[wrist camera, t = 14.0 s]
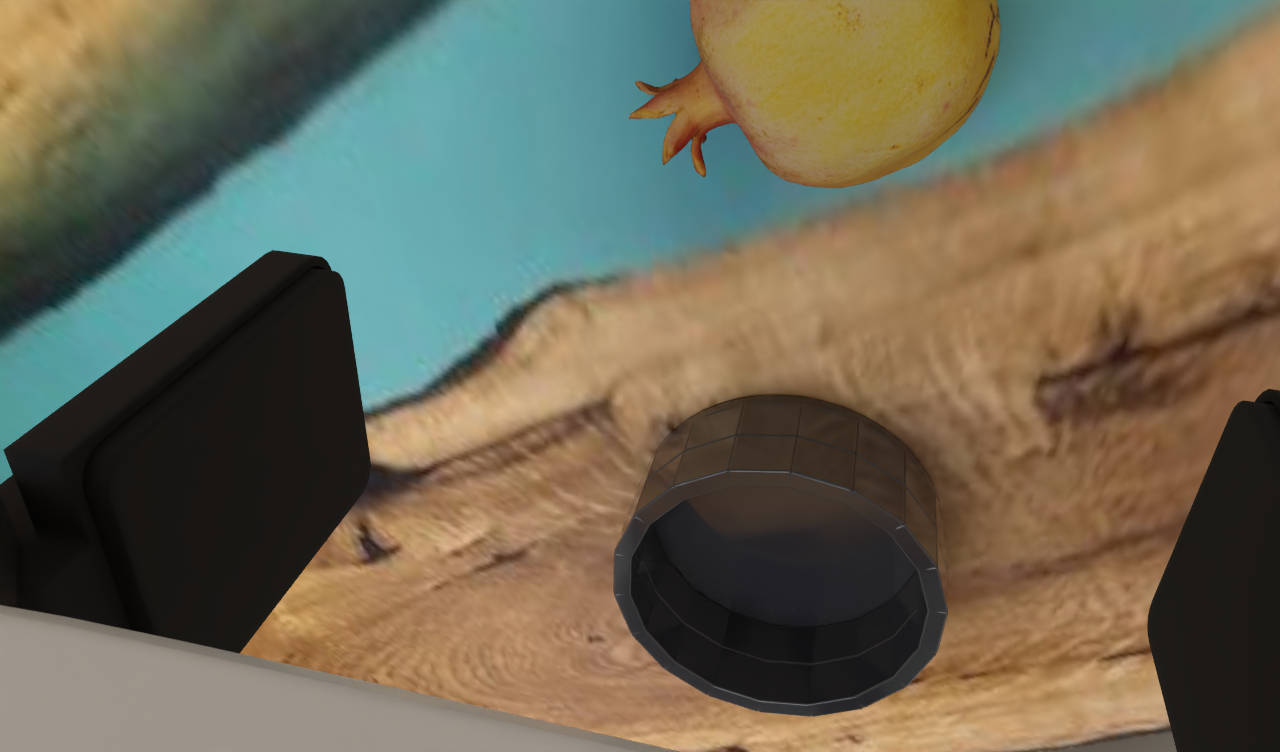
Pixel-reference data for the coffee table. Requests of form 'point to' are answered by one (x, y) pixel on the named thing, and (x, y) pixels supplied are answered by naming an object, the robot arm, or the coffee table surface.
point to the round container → (785, 557)
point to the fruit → (831, 82)
